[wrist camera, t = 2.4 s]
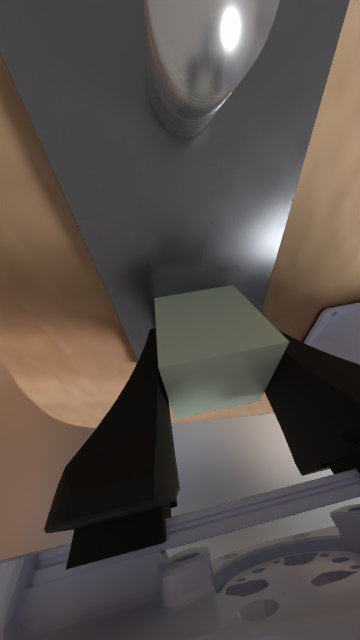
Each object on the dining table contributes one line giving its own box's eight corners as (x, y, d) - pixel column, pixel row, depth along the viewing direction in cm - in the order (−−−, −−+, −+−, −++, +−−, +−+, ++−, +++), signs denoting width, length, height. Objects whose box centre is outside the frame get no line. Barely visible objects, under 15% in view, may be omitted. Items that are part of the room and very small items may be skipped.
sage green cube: (232, 284, 10) (289, 341, 6) (225, 339, 13) (259, 400, 9) (154, 298, 9) (158, 367, 5) (166, 351, 12) (175, 419, 9)
